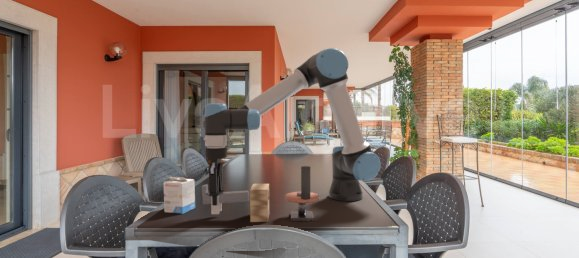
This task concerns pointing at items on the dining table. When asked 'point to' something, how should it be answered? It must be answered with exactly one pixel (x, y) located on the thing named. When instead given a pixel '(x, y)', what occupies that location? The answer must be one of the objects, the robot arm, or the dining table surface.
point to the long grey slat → (225, 196)
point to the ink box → (179, 195)
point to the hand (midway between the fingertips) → (216, 212)
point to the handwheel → (303, 189)
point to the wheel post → (302, 213)
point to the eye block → (259, 203)
